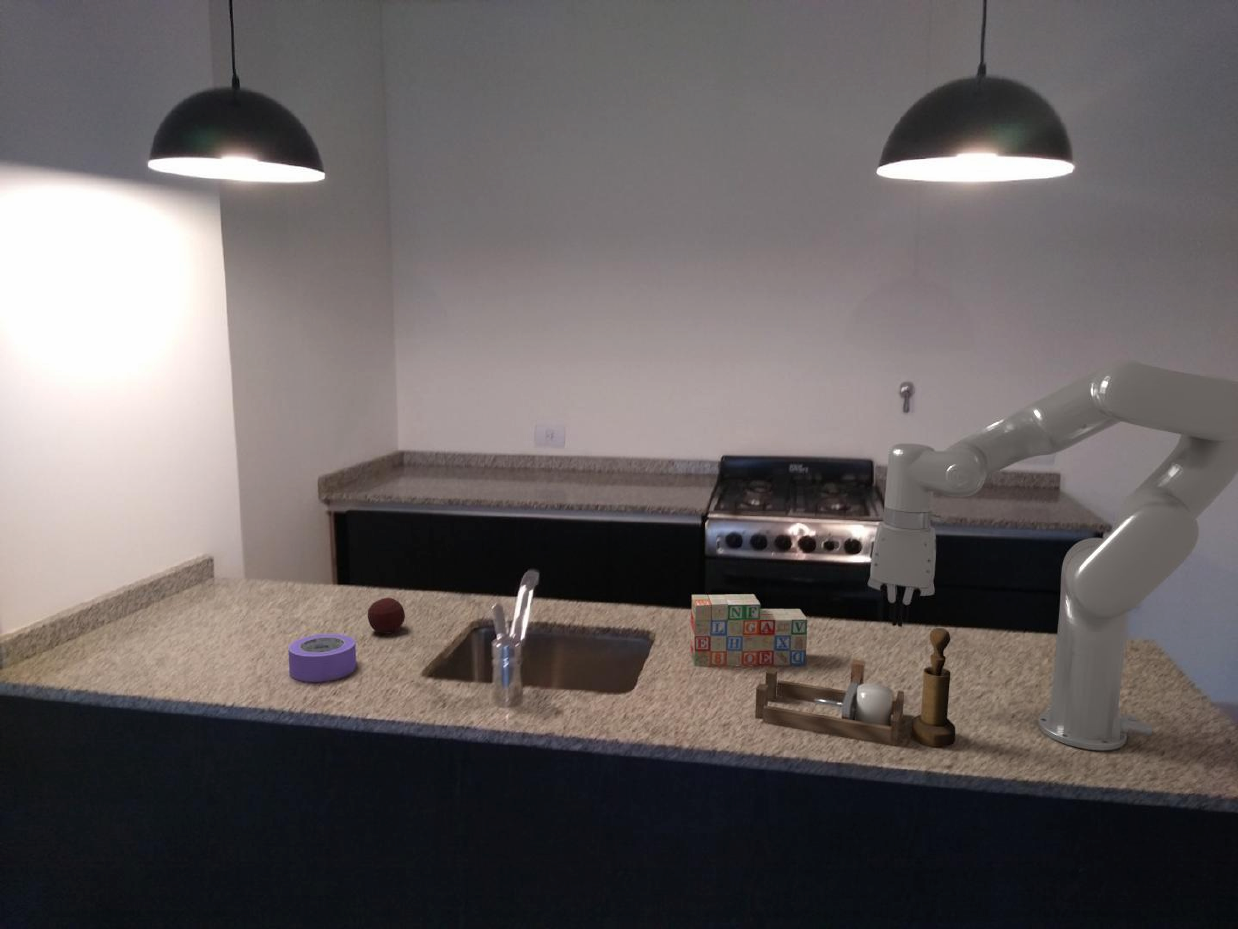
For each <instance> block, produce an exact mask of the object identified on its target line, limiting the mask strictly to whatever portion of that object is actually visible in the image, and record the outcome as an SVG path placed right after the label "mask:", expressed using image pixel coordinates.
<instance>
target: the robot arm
mask: <svg viewBox="0 0 1238 929" xmlns="http://www.w3.org/2000/svg"><path fill="white" fill-rule="evenodd" d="M1121 422H1122V423H1126V424H1130V425H1134V426H1139V427H1142V428H1147V429H1151V430H1157V431H1161V432H1168V433H1172V434H1176V435H1177V434H1178V435H1180V437H1179V439H1178V441H1177V444H1176V445H1175V447H1174V449H1173V450H1172V451H1171V453H1170V454H1168V456H1167V457H1166V458H1165V459H1164V461H1163V462H1162V463H1161V464H1160V465H1159V466H1158V467H1157V468H1156V469H1155V470H1154V471H1153V472H1152V473H1151V474H1150V475H1149V476H1148V477H1147V478H1146V479H1145V480H1144V481H1143V482H1142V483H1141V484H1140V485H1139V486H1138V487H1137V488H1136V489H1135V490H1133V491H1132V492H1131V493H1130V494H1128V496H1127V497H1126V498H1124V499H1123V501H1122V502H1121V503H1120V505H1119V506H1118V508H1117V510H1116V513H1115V525H1116V527H1115V528H1114V529H1113V530H1112V531H1111V532H1110V533H1109V534H1108V535H1107V536H1106V537H1105V538H1101V537H1089V538H1086V539H1083V540H1080V541H1078V542H1076V543H1075V544H1074V545H1073V546H1071V548H1070V549H1069V550H1068V551H1067V552H1066V555H1065V556H1064V558H1063V562H1062V565H1061V573H1060V574H1061V575H1060V599H1059V600H1060V601H1059V611H1058V612H1059V614H1058V624H1057V633H1056V634H1057V635H1056V644H1055V654H1054V665H1053V674H1052V685H1051V686H1052V687H1051V693H1050V694H1051V696H1050V706H1049V710H1044V711H1043V712H1041V713H1040V714H1039V715H1038V717H1037V718H1038V719H1037V725H1038V727H1039V729H1040V731H1041V732H1042V733H1043V734H1045V735H1046V736H1047V737H1049V738H1051V739H1053V740H1055V741H1057V742H1060V743H1061V744H1064V745H1067V746H1071V747H1075V748H1078V749H1084V750H1091V751H1110V750H1111V751H1112V750H1117V749H1120V748H1122V747H1123V746H1125V744H1126V743H1127V737H1128V735H1127V734H1128V733H1133V734H1134V733H1135V734H1136V735H1143V736H1149V737H1150V736H1151V735H1152V730H1153V729H1152V727H1153V726H1152V723H1151V722H1144V721H1140V719H1141V718H1140V716H1136V715H1135V716H1133V715H1126V714H1123V712H1121V710H1120V708H1119V704H1120V695H1121V688H1122V687H1121V686H1122V685H1121V684H1122V676H1123V666H1124V659H1125V650H1126V646H1127V645H1126V644H1127V636H1128V634H1127V633H1128V627H1129V626H1128V624H1129V623H1128V622H1129V612H1131V611H1132V610H1134V609H1135V608H1136V607H1137V606H1139V605H1140V604H1141V603H1142V602H1143V601H1144V600H1145V599H1146V598H1148V597H1149V596H1150V595H1151V594H1152V593H1153V592H1154V591H1155V590H1156V589H1157V588H1158V587H1160V585H1162V584H1163V583H1165V581H1166V580H1167V579H1168V578H1169V577H1170V576H1171V575H1172V574H1173V573H1174V572H1175V571H1176V570H1177V569H1178V568H1179V567H1181V565H1183V564H1184V563H1185V561H1186V560H1187V559H1188V558H1189V557H1190V555H1191V554H1192V553H1193V551H1194V549H1195V548H1196V545H1197V543H1198V540H1199V536H1200V535H1199V534H1200V531H1199V530H1200V529H1199V524H1198V521H1197V519H1198V517H1200V515H1202V513H1203V512H1205V511H1206V509H1207V508H1208V507H1210V505H1211V504H1212V503H1214V502H1215V500H1216V499H1217V498H1218V496H1220V495H1221V494H1222V492H1223V491H1225V489H1226V488H1227V487H1228V486H1229V485H1230V483H1231V482H1232V481H1233V480H1234V479H1235V477H1236V476H1237V474H1238V381H1236V380H1234V379H1231V378H1227V377H1225V376H1222V375H1215V374H1214V375H1212V374H1209V375H1202V374H1201V375H1200V374H1194V373H1188V372H1182V371H1177V370H1172V369H1167V368H1162V367H1157V366H1153V365H1149V364H1146V363H1141V362H1139V361H1135V360H1131V359H1120V360H1116V361H1113V362H1110V363H1108V364H1105V365H1104V366H1101V367H1100V368H1097V369H1096V370H1094V371H1092V372H1090V373H1087V374H1086V375H1084V376H1082V377H1080V378H1078V379H1077V380H1075V381H1073V382H1071V383H1069V384H1067V385H1065V386H1063V387H1062V388H1061V387H1060V388H1059V389H1057V390H1055V391H1054V392H1052V393H1050V394H1048V395H1046V396H1044V397H1042V398H1040V399H1038V400H1036V401H1034V402H1032V403H1030V404H1028V405H1026V406H1024V407H1022V408H1020V409H1019V410H1017V411H1015V412H1013V413H1011V414H1010V415H1008V416H1005V417H1004V418H1001V419H1000V420H998V421H995V422H993V423H992V424H989V425H987V426H985V427H984V428H981V429H979V430H978V431H976V432H974V433H972V434H969V435H968V436H966V437H964V438H962V439H960V440H958V441H957V442H955V443H953V444H951V445H949V446H948V447H947V448H945V450H942V451H941V450H940V451H939V450H935V449H934V447H932V446H929V445H925V444H920V443H919V444H918V443H897V444H894V445H892V446H891V448H890V449H889V452H888V457H887V458H888V459H887V461H888V462H887V469H886V470H887V471H886V480H885V481H886V482H885V484H886V485H885V497H884V507H883V516H882V521H879V523H878V525H877V528H876V532H875V535H874V542H873V548H872V554H871V560H870V561H871V562H870V575H869V579H868V582H867V585H868V587H870V588H872V589H876V590H877V591H881V593H882V594H883V596H885V597H886V598H887V599H888V602H889V610H888V619H889V620H891V626H894V627H896V626H898V628H903V624H904V622H908V618H909V617H908V616H909V606H910V604H911V603H912V602H913V601H915V600H916V599H917V598H919V597H920V596H922V597H925V596H932V595H934V594H935V584H934V580H935V574H936V573H935V572H936V559H937V558H936V556H937V555H936V554H937V537H936V536H937V535H936V529H935V527H933V526H932V525H933V524H940V523H941V515H939V514H936V513H934V511H933V502H934V493H936V494H937V493H938V494H942V495H945V496H949V497H955V498H967V497H970V496H972V495H975V494H976V493H978V492H979V491H980V490H981V489H982V488H983V486H984V484H985V481H986V478H987V477H990V476H991V475H993V474H996V473H997V472H999V471H1001V470H1003V469H1005V468H1007V467H1010V466H1012V465H1014V464H1017V463H1019V462H1021V461H1024V460H1026V459H1030V458H1034V457H1039V456H1048V455H1054V454H1056V453H1060V452H1062V451H1065V450H1067V449H1068V448H1071V447H1072V446H1074V445H1077V444H1079V443H1080V442H1083V441H1085V440H1087V439H1088V438H1090V437H1092V436H1094V435H1096V434H1099V433H1101V432H1102V431H1105V430H1107V429H1109V428H1111V427H1113V426H1115V425H1117V424H1120V423H1121ZM897 587H905V590H904V594H903V596H901V599H900V598H899V595H898V590H897Z"/></svg>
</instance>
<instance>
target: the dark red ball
mask: <svg viewBox="0 0 1238 929" xmlns="http://www.w3.org/2000/svg"><path fill="white" fill-rule="evenodd" d="M405 613H406V612H405V610H404V607H403V605H402V604H401V603H400V602H399V601H398V600H396V599H395V598H392V597H384V598H381V599H378V600H376V601H374V602H373V603H372V604H371V606H370V607H369V608H368V611H367V620H368V623H369V625H370V627H371V628H372V629H373V630H374V631H375V632H377V633H380V634H391V633H394V632H396V631H397V630H399V629H401V627H402V625H403V624H404V622H405V619H406V614H405Z"/></svg>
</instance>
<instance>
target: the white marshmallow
mask: <svg viewBox="0 0 1238 929" xmlns="http://www.w3.org/2000/svg"><path fill="white" fill-rule="evenodd" d="M893 695H894V692H893V690H892V689H891V688H890V687H889V686H886V685H884V684H880V683H879V684H878V683H869V682H868V683H867V682H866V683H864V684H862V685H859V686H858V688H857V705H856V709H855V721H860V722H866V723H872V724H877V725H883V726H889V727H891V723H892V715H891V713H892V698H893Z"/></svg>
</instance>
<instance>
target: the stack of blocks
mask: <svg viewBox="0 0 1238 929" xmlns="http://www.w3.org/2000/svg"><path fill="white" fill-rule="evenodd" d="M807 641H808V618H807V617H806V615H805V614H804V613H803V612H802V610H801V609H800V608H761V603H760V601H759V600H758V599H757V597H756V595H755V594H753V593H751V594H749V593H748V594H747V593H746V594H745V593H744V594H742V593H741V594H736V593H735V594H732V593H731V594H726V593H725V594H691V609H690V656H692V657H691V659H692V663H693V666H695V667H703V666H704V667H706V666H707V667H708V666H709V667H732V666H731V665H757V666H759V665H768V666H774V665H776V666H806V663H807V662H806V660H807V647H808V646H807V645H808V642H807ZM729 665H730V666H729Z"/></svg>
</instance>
